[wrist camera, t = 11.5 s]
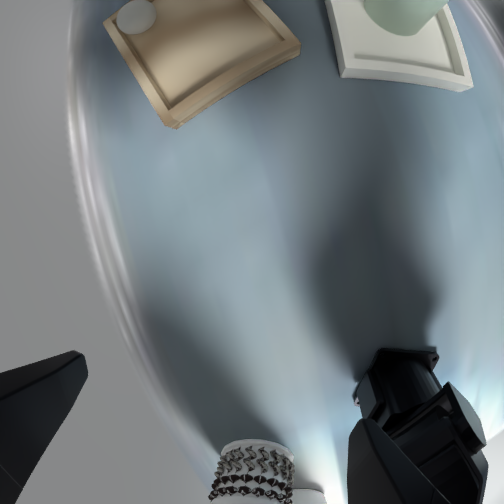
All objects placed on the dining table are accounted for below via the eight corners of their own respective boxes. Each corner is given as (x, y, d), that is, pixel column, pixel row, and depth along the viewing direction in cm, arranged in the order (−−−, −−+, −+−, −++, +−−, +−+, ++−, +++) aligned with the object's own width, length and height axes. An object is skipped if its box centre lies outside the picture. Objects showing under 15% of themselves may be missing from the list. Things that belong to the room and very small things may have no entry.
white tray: (460, 92, 14) (473, 87, 12) (340, 77, 16) (345, 67, 14) (422, -21, 11) (430, -32, 9) (312, -38, 12) (314, -52, 11)
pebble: (167, 7, 14) (151, -10, 12) (157, 38, 15) (139, 22, 12) (134, 12, 15) (116, -3, 12) (124, 42, 15) (104, 29, 13)
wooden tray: (299, 54, 15) (300, 43, 14) (176, 129, 18) (164, 125, 16) (214, -34, 13) (208, -47, 12) (114, 31, 16) (102, 23, 14)
